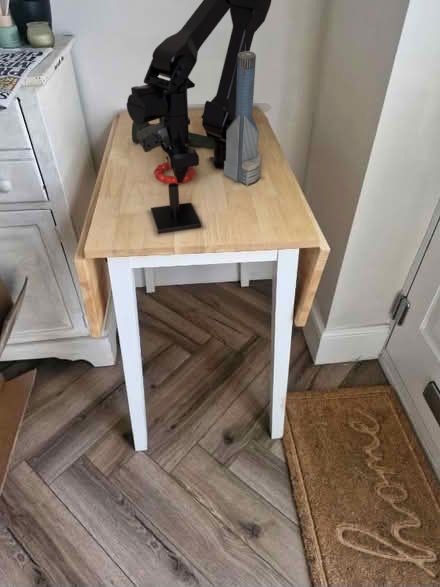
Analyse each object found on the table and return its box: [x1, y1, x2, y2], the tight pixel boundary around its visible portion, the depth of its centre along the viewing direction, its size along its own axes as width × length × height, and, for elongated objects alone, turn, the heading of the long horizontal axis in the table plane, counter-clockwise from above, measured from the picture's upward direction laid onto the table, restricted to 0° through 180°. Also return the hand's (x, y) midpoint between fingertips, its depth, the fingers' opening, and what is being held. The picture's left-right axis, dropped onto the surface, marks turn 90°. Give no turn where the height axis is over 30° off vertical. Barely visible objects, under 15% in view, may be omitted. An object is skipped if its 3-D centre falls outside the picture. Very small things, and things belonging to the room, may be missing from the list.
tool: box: [131, 121, 214, 149], centre depth 117 cm, size 28×6×7 cm, turn 80°
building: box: [223, 43, 263, 187], centre depth 96 cm, size 10×9×30 cm
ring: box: [153, 161, 197, 185], centre depth 105 cm, size 10×10×2 cm
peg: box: [150, 183, 202, 235], centre depth 88 cm, size 9×9×8 cm
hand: (178, 179), depth 102 cm, fingers open, 3 cm apart
